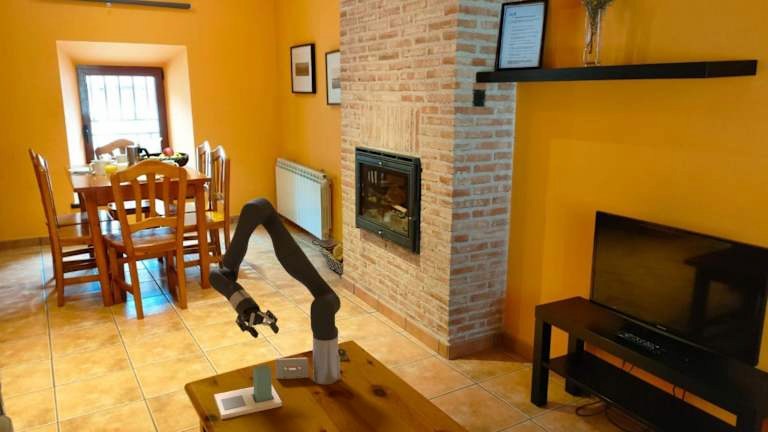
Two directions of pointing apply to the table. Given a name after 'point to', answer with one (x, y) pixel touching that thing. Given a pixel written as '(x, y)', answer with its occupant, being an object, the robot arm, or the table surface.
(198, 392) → the table surface
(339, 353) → the seal
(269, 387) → the teal block
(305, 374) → the cassette
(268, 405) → the puzzle board
